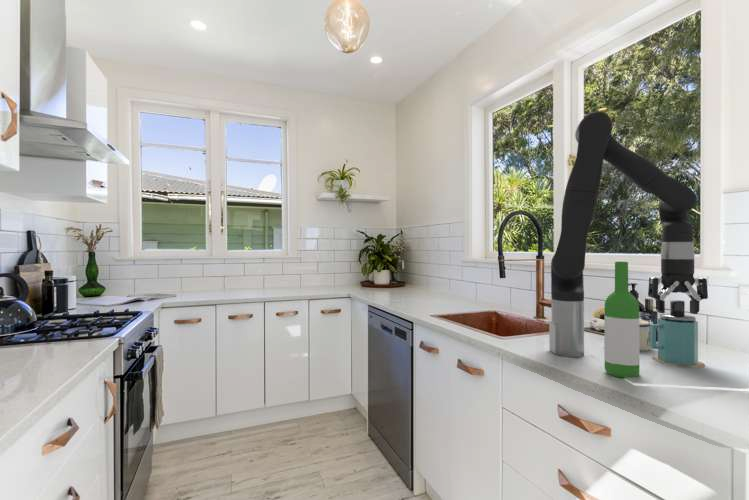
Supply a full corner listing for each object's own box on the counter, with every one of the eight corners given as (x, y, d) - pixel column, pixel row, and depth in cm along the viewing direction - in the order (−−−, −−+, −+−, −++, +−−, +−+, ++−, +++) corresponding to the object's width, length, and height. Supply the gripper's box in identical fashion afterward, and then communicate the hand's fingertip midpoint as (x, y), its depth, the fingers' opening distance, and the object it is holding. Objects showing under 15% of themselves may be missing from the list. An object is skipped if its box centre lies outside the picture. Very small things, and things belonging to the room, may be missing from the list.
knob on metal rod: (671, 355, 104) (670, 302, 104) (654, 348, 112) (654, 298, 112) (702, 357, 103) (702, 303, 103) (683, 349, 111) (683, 299, 111)
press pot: (659, 364, 104) (659, 322, 104) (642, 355, 112) (642, 316, 112) (704, 366, 102) (704, 323, 102) (683, 357, 111) (683, 317, 111)
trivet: (667, 368, 102) (667, 366, 102) (643, 356, 114) (643, 354, 114) (716, 370, 100) (716, 368, 100) (686, 358, 112) (686, 356, 112)
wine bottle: (637, 381, 92) (637, 262, 92) (601, 374, 97) (601, 261, 97) (641, 374, 98) (641, 261, 98) (607, 367, 103) (607, 261, 103)
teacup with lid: (655, 353, 118) (655, 316, 118) (623, 351, 120) (623, 315, 120) (638, 343, 129) (638, 310, 129) (609, 342, 131) (609, 309, 131)
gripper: (658, 258, 105) (658, 314, 105) (714, 258, 102) (714, 316, 102) (643, 257, 112) (643, 310, 112) (695, 257, 110) (695, 311, 110)
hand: (677, 313), depth 107 cm, fingers open, 8 cm apart
